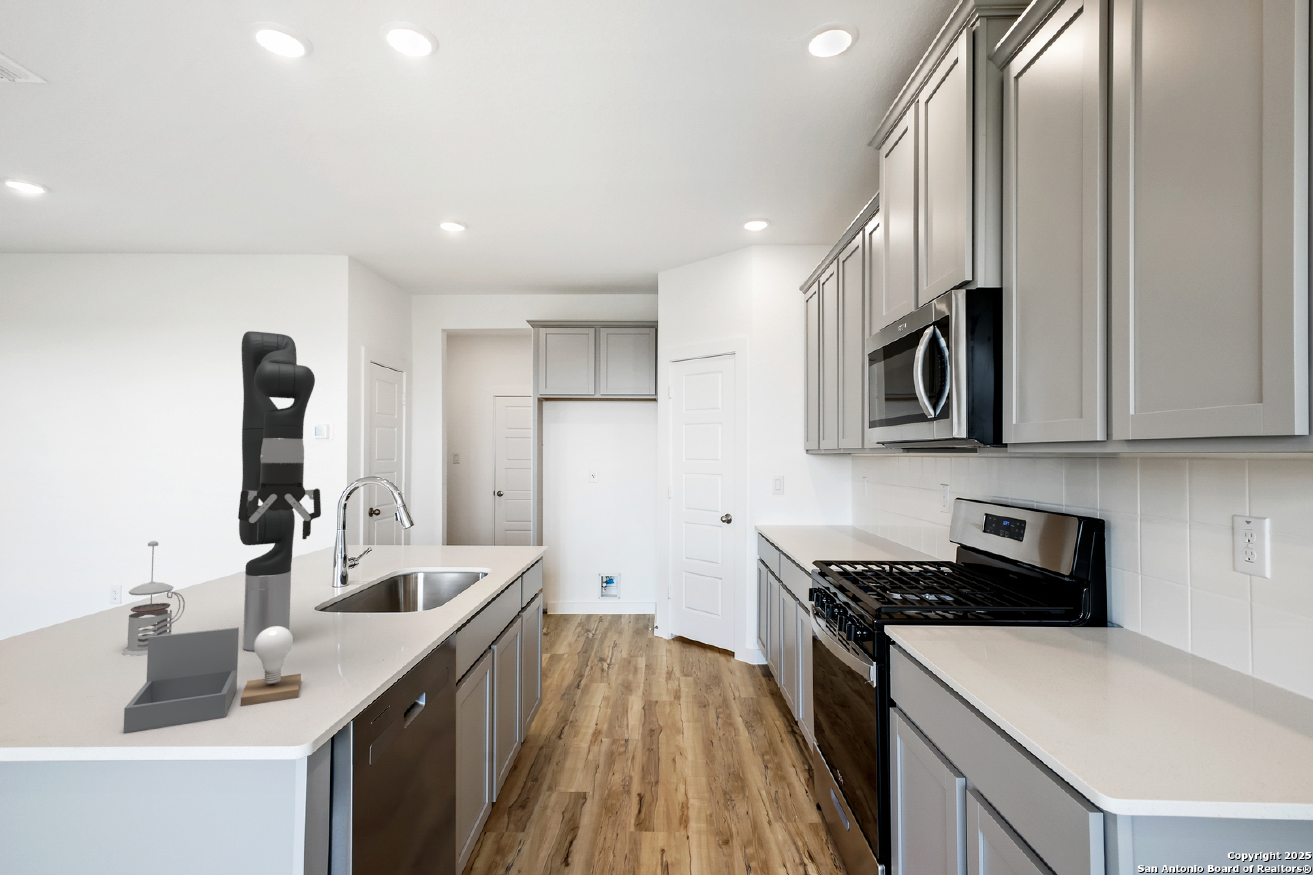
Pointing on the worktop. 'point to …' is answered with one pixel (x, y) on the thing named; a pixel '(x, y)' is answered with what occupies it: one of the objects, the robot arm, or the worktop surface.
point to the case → (186, 679)
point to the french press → (160, 612)
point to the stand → (271, 690)
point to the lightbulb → (273, 651)
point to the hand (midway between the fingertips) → (280, 540)
